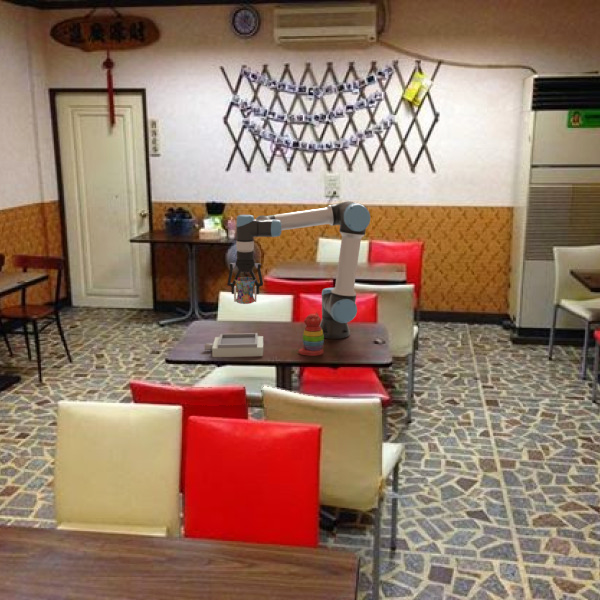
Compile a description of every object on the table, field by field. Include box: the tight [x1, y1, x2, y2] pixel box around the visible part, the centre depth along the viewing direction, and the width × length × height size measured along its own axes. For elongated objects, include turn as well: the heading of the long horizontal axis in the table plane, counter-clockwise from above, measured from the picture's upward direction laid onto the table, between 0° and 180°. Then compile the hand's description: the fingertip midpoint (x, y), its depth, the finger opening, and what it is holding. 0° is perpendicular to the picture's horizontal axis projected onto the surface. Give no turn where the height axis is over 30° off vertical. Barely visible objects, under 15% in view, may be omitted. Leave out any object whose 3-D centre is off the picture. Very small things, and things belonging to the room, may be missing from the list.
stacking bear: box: [297, 312, 325, 356], centre depth 294 cm, size 11×10×18 cm
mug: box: [235, 276, 257, 305], centre depth 296 cm, size 12×9×11 cm
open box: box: [204, 332, 264, 358], centre depth 299 cm, size 26×17×6 cm, turn 93°
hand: (245, 301), depth 297 cm, fingers closed on mug, 8 cm apart
